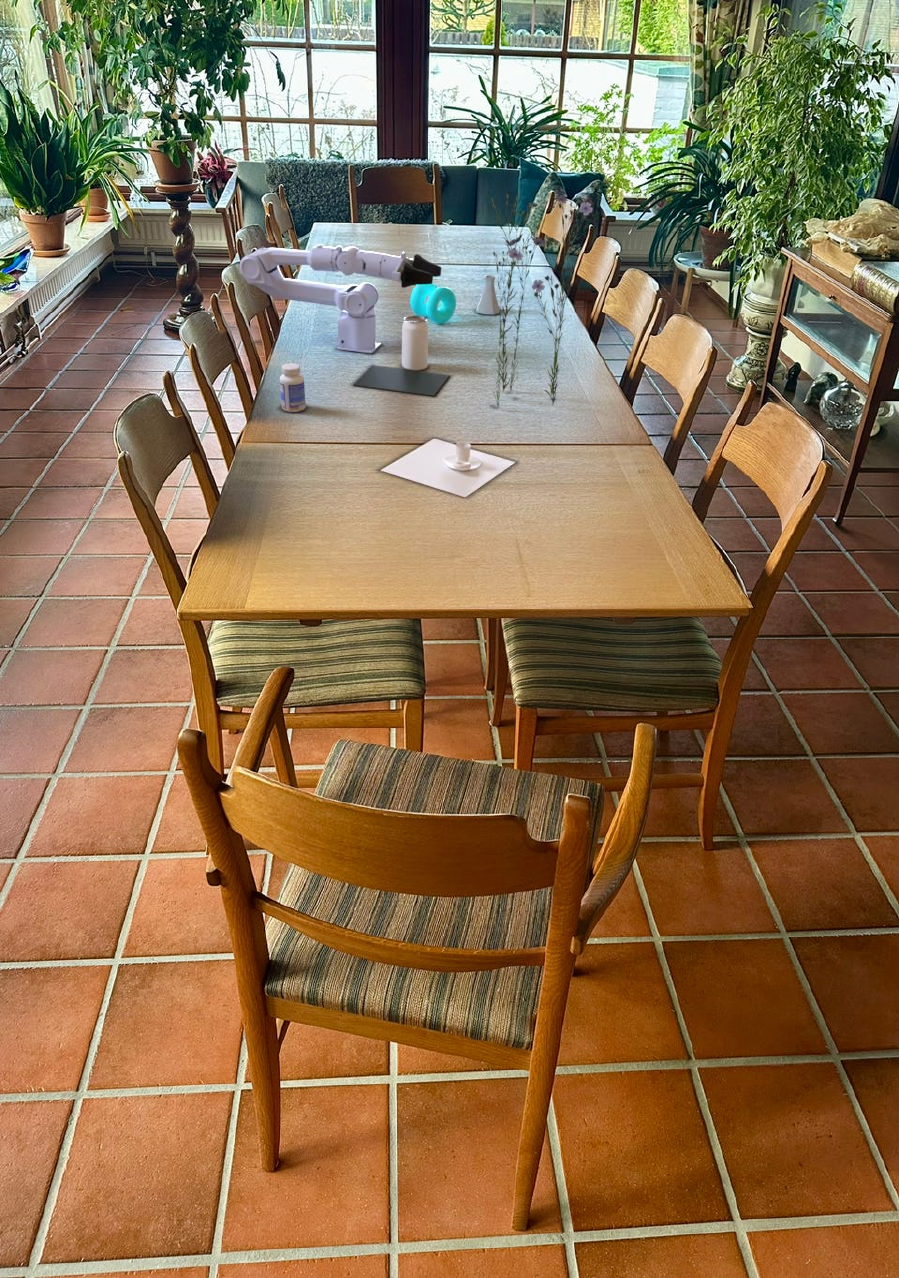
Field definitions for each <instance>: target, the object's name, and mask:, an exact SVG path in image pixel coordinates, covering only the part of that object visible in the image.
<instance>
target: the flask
mask: <svg viewBox="0 0 899 1278" xmlns="http://www.w3.org/2000/svg"><path fill="white" fill-rule="evenodd" d="M484 280H485V283H484V287H483V291H482V294H481V296H480V299H479V301H478V304H477V306H476V310H475V312H476V313H479V314H481V315H497V314H500V312H499V310H500V308H499V307H500V304H499V301H498V296H497V293H496V288H495V280H496V276H495V275H492V274H490V275H489V274H486V275H484Z"/></svg>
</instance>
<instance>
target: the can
mask: <svg viewBox="0 0 899 1278" xmlns="http://www.w3.org/2000/svg"><path fill="white" fill-rule="evenodd" d="M427 318H428V317H423V316H417V315H408V316H405V317H404V318H403V320H404V321H402V322H403V323H402V326H401V366H402V369H405V370H412V371H420V372H421V371H424V370H426V368H427V367H428V360H429V359H428V358H429V357H428V355H429V323H428V319H427Z"/></svg>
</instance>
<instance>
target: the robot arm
mask: <svg viewBox="0 0 899 1278" xmlns="http://www.w3.org/2000/svg"><path fill="white" fill-rule="evenodd" d="M280 266H309V267H310V268H311V269H312V270H313V271H316V272H317V271H318V272H332V273H339V272H340V273H342V274H344V276H345V277H347V276H352V275H354V274H357V275H363V276H366V277H371V278H377V279H378V278H379V279H384V280H391V281H392V282H398V283H400V284H401V288H403V289H405V288H408V287H412V286H417V285H420V284H432V283H434V277H435V278H436V277H441V275H442V267H441V266H440V265H438V264H435V263H433V262H431V261H428V260H427V259H425V258H424V257H423V256H421V255H420V254H418V253H417V254H415V255H413V258H409V257H407V254H406V252H405V251H403V252H401V253H400V256H399V255H394V254H393V255H392V254H387V253H382V252H375V251H369V250H368V251H367V250H361V249H360V248H359V247H357V246H355V245H352V244H350V245H347V246H345V247H344V248H343V247H342V245H337V246H336V247H333V246H325V245H324V244H323V243H318V244H317V245H315V246H313V247H312V248H311V249H310V250H301V249H292V248H291V249H290V248H279V247H273V246H272V247H267V248H266V247H260V248H257V249H256V250H255V251H253V252H252V253H250V254H247V255H245V256H243V257H242V258H241V260H240V262H239V271H240V274H241V275H242V276H243V278H244V280H245V281H246V283H247V284H249V285H252V286H255V287H257V288H258V289H260V290H261V291H263V292H264V293H266V294H267V295H269V296H270V297H271V298H274V299H280V300H287V301H288V300H289V301H295V302H301V303H308V304H309V303H310V304H317V305H324V306H332V307H337V309H338V310H339V311H341V312H340V313H339V315H338V319H337V347H336V349H337V350H342V351H347V352H355V353H356V352H357V353H364V354H373V353H374V352H375V351H376V350H377V349H378V348H379V347H380V346H381V342H378V341H376V340H377V338H376V336H377V334H376V331H377V330H376V329H377V328H376V324H377V323H376V321H377V320H376V317H377V315H376V314H377V312H376V309H375V306H376V304H377V303H378V301H379V292H378V289H377V287H376V286H375V285H374V284H372V283H371V282H367V281H364V282H361V283H358V284H354V283H353V284H352V283H351V284H344V285H339V284H332V283H326V282H325V283H324V282H316V281H309V280H303V279H302V280H301V279H294V278H287V277H286V278H285V277H284V275H283V274H282V271H281V269H280Z"/></svg>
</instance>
